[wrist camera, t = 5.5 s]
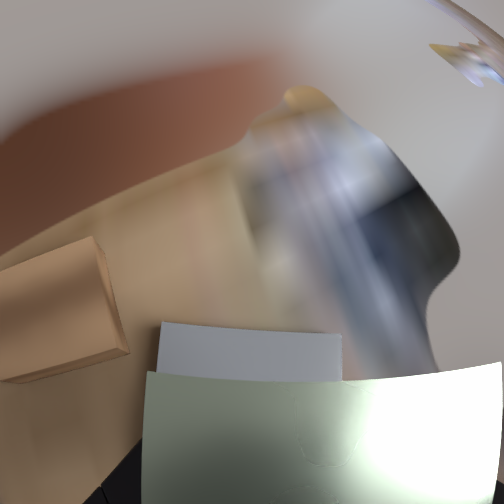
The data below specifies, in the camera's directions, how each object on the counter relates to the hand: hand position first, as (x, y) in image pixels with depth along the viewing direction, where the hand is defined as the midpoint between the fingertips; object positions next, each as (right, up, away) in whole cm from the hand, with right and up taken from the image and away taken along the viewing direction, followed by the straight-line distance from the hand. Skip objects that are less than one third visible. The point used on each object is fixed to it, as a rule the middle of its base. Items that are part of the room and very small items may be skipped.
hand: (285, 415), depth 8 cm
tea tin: (0, -3, +3) cm, 4 cm away
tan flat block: (-15, -1, +13) cm, 20 cm away
